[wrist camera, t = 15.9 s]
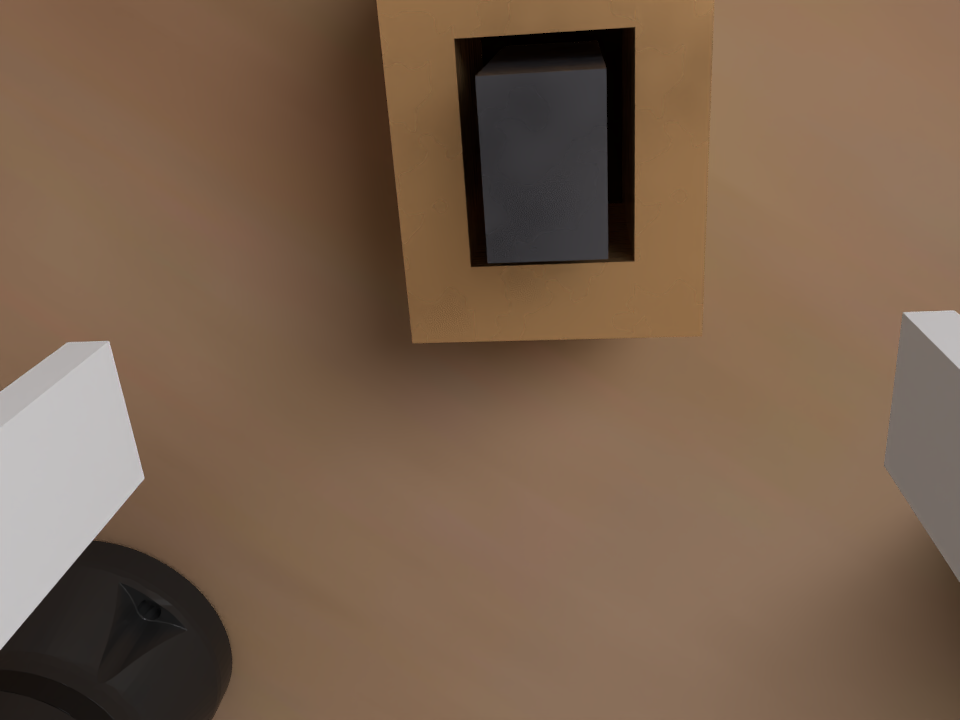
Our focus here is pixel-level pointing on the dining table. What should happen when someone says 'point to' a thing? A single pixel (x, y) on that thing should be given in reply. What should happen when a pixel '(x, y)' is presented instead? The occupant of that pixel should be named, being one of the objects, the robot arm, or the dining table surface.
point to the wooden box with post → (631, 223)
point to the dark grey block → (544, 152)
